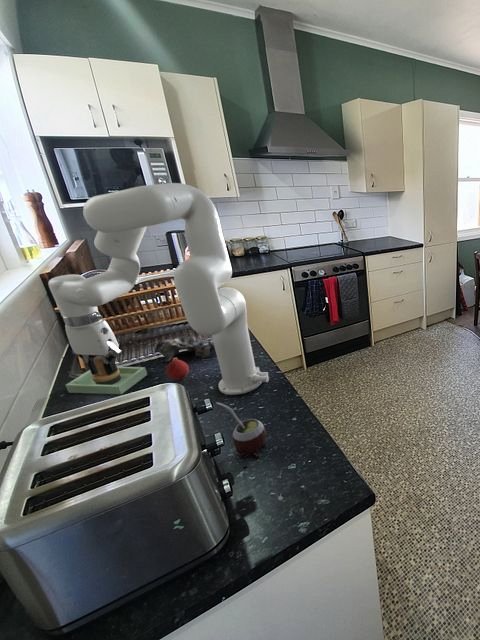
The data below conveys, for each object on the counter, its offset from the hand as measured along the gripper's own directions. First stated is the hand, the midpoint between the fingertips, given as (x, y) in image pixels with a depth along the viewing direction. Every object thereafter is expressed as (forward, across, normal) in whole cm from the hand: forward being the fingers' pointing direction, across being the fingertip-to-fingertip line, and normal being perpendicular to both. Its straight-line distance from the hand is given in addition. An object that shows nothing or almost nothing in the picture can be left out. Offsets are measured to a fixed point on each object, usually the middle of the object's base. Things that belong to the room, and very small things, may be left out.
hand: (105, 371), depth 106 cm
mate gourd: (+4, -56, +26) cm, 62 cm away
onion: (+4, -20, -3) cm, 21 cm away
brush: (+3, 0, 0) cm, 3 cm away
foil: (+4, -14, -18) cm, 23 cm away
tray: (+4, 0, 0) cm, 4 cm away
